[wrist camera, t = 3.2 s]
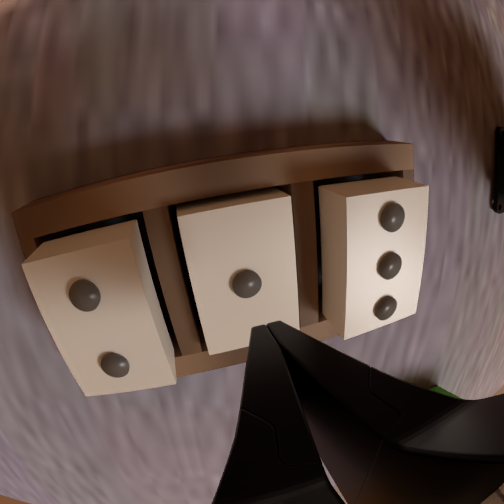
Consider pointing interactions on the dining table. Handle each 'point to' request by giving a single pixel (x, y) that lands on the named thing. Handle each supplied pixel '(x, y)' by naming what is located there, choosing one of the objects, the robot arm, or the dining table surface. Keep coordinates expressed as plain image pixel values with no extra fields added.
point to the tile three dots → (371, 251)
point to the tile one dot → (240, 263)
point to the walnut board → (208, 185)
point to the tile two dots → (103, 309)
